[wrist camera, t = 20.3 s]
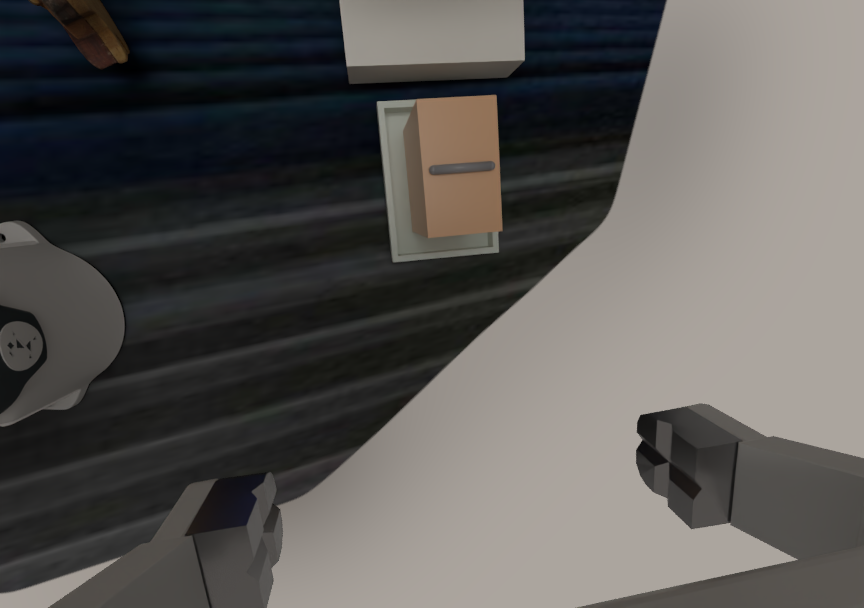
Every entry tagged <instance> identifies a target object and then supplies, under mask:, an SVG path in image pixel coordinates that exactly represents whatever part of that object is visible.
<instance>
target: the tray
mask: <svg viewBox="0 0 864 608" xmlns="http://www.w3.org/2000/svg"><path fill="white" fill-rule="evenodd" d="M415 101H416V100H400V101H378V102H377V118H378V128H379V138H380V148H381V158H382V168H383V178H384V188H385V198H386V208H387V218H388V228H389V238H390V248H391V258H392V261H393V262H403V261H413V260H424V259H434V258H445V257H455V256H466V255H476V254H487V253H497V252H499V242H498V232H488V233H477V234H467V235H456V236H446V237H435V238H427V237H424V236H422V235H419V234H417V233H415V232H412V222H411V211H410V200H409V190H408V179H407V168H406V158H405V147H404V136H403V130H404V127H405V125H406V123H407V120H408V118H409V116H410V113H411V111H412V108H413V106H414V104H415Z"/></svg>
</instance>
